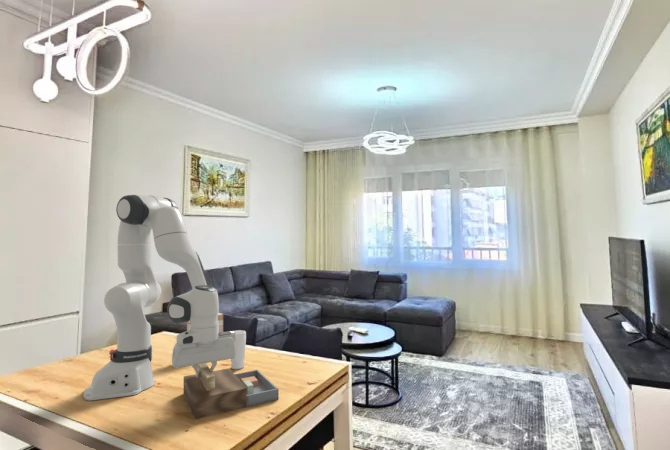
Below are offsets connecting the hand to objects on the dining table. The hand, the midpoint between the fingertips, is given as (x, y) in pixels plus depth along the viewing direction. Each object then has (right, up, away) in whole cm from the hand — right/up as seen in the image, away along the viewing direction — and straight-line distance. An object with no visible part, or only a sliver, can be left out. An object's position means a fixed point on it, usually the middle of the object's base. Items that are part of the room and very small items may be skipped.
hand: (204, 375), depth 124 cm
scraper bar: (0, -1, 0) cm, 1 cm away
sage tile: (+13, -6, +1) cm, 15 cm away
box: (+14, -9, +8) cm, 19 cm away
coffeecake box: (-17, -11, +48) cm, 52 cm away
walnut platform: (+3, -9, +1) cm, 9 cm away
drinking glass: (+2, -10, +33) cm, 35 cm away
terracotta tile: (+12, -7, +13) cm, 19 cm away
